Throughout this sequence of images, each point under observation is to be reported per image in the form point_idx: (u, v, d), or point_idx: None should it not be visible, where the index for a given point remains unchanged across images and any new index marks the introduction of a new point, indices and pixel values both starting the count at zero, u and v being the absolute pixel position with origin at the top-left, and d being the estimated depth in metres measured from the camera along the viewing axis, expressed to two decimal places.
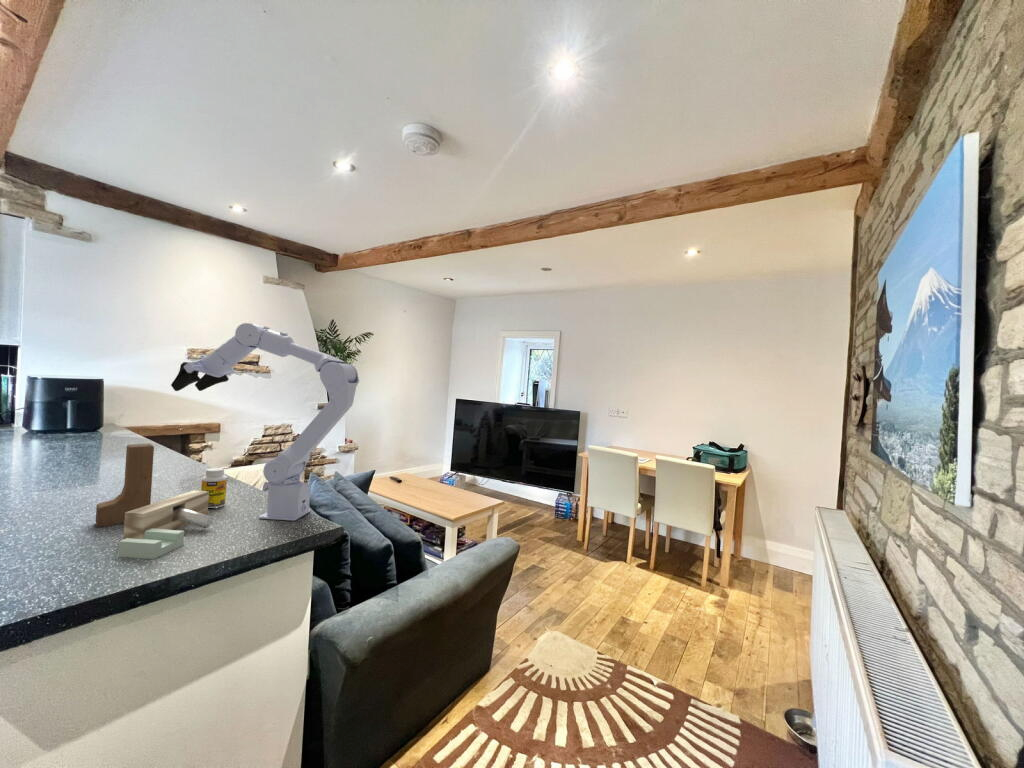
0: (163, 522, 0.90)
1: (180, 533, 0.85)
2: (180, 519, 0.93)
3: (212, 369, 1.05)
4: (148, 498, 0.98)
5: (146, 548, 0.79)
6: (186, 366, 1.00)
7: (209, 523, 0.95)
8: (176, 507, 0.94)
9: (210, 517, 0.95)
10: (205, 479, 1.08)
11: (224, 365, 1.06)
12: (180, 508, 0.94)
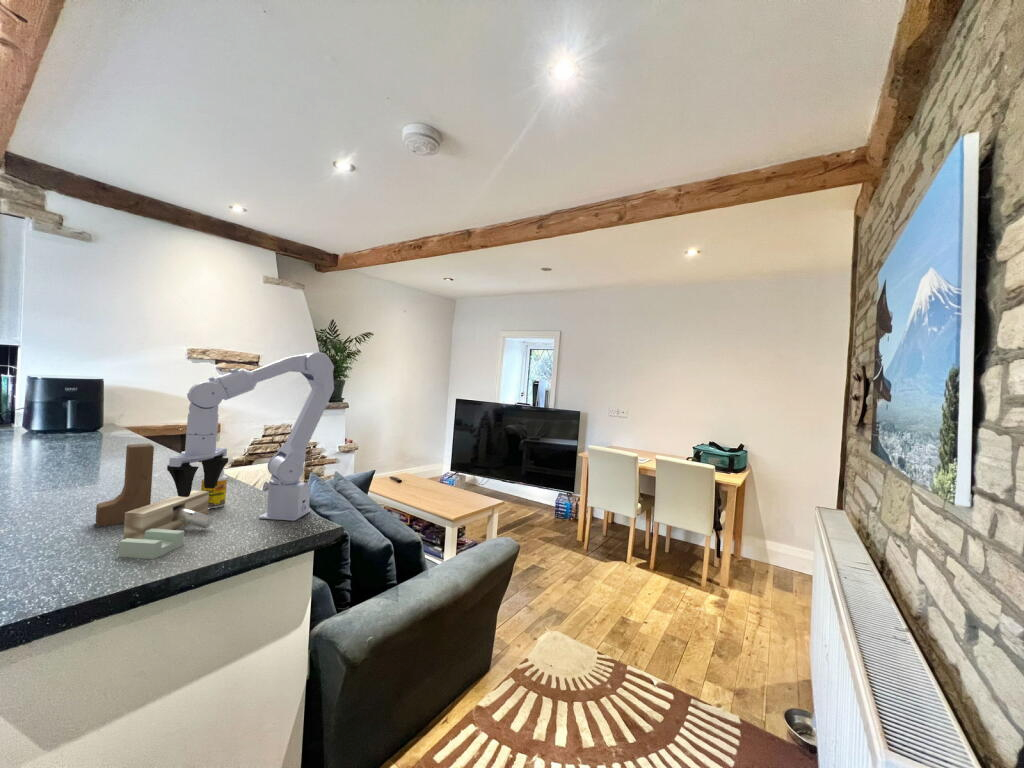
0: (163, 522, 0.90)
1: (180, 533, 0.85)
2: (180, 519, 0.93)
3: (199, 451, 0.92)
4: (148, 498, 0.98)
5: (146, 548, 0.79)
6: (171, 463, 0.87)
7: (209, 523, 0.95)
8: (176, 507, 0.94)
9: (210, 517, 0.95)
10: None
11: (206, 439, 0.93)
12: (180, 508, 0.94)
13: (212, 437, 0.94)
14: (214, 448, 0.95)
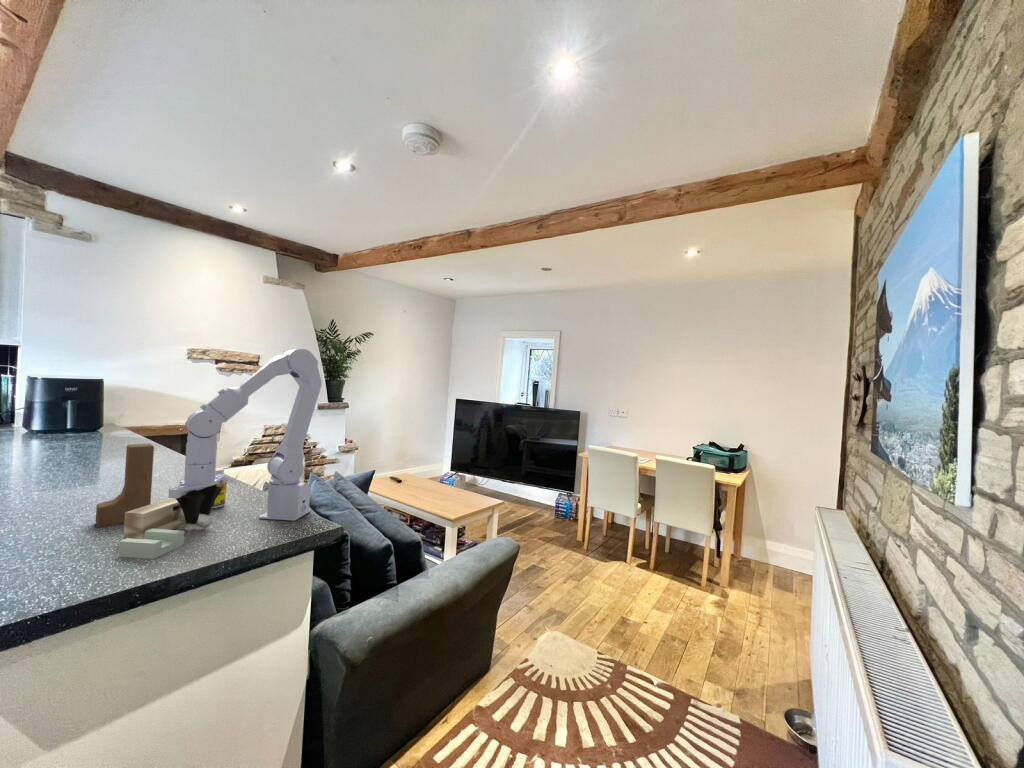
0: (163, 522, 0.90)
1: (180, 533, 0.85)
2: (180, 519, 0.93)
3: (199, 481, 0.92)
4: (148, 498, 0.98)
5: (146, 548, 0.79)
6: (170, 494, 0.87)
7: (209, 523, 0.95)
8: (176, 507, 0.94)
9: (210, 517, 0.95)
10: None
11: (205, 468, 0.93)
12: (180, 508, 0.94)
13: (211, 466, 0.94)
14: (213, 476, 0.95)
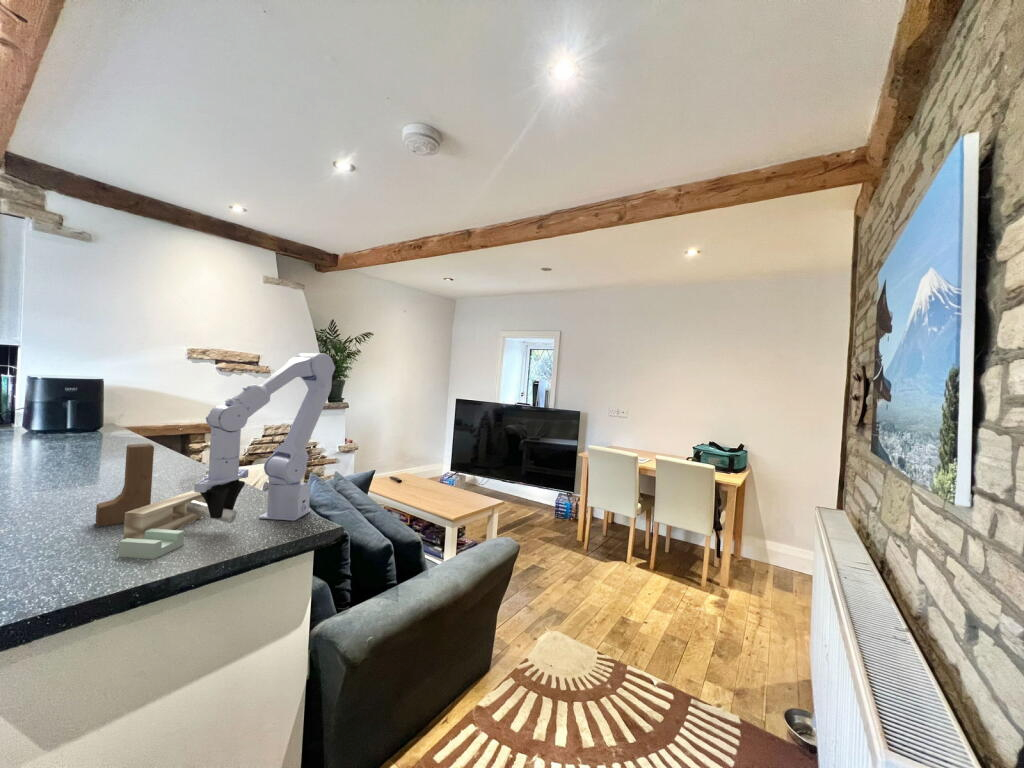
0: (163, 522, 0.90)
1: (180, 533, 0.85)
2: (204, 515, 0.93)
3: (223, 475, 0.92)
4: (148, 498, 0.98)
5: (146, 548, 0.79)
6: (196, 488, 0.87)
7: (233, 518, 0.95)
8: (199, 503, 0.94)
9: (234, 511, 0.94)
10: None
11: (229, 463, 0.93)
12: (203, 503, 0.94)
13: (235, 460, 0.94)
14: (237, 471, 0.95)
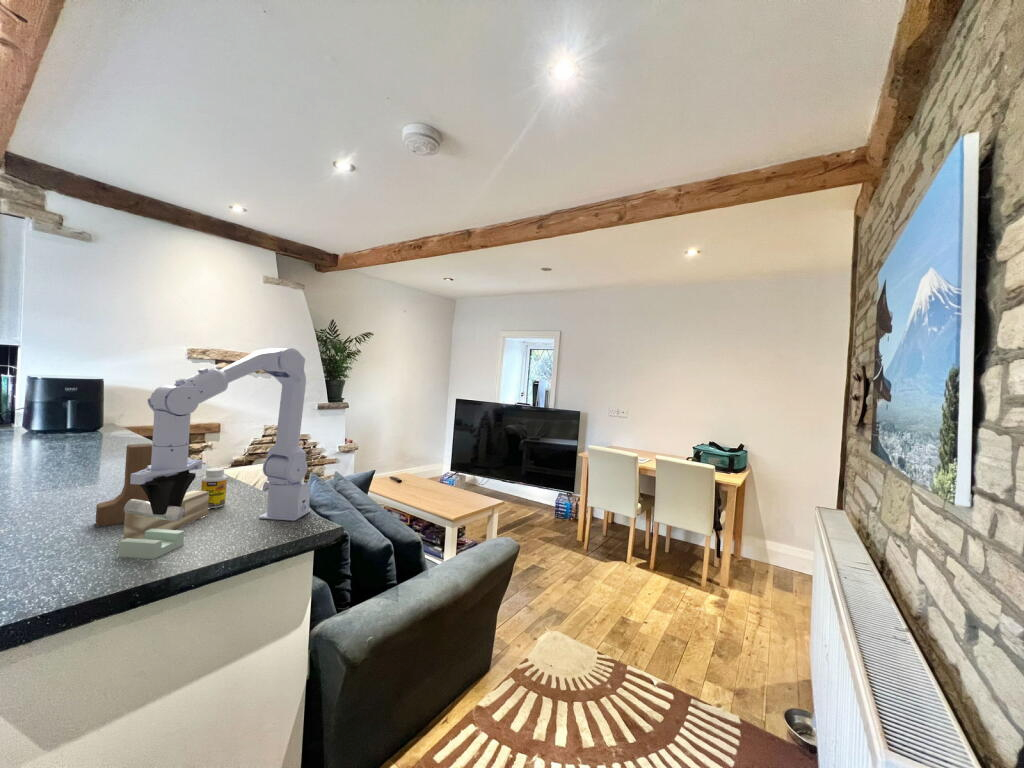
0: (163, 522, 0.90)
1: (180, 533, 0.85)
2: (145, 514, 0.81)
3: (167, 465, 0.80)
4: None
5: (146, 548, 0.79)
6: (132, 480, 0.75)
7: (179, 515, 0.83)
8: (139, 501, 0.82)
9: (179, 508, 0.82)
10: (205, 479, 1.08)
11: (175, 451, 0.81)
12: (143, 501, 0.82)
13: (182, 448, 0.82)
14: (185, 461, 0.83)
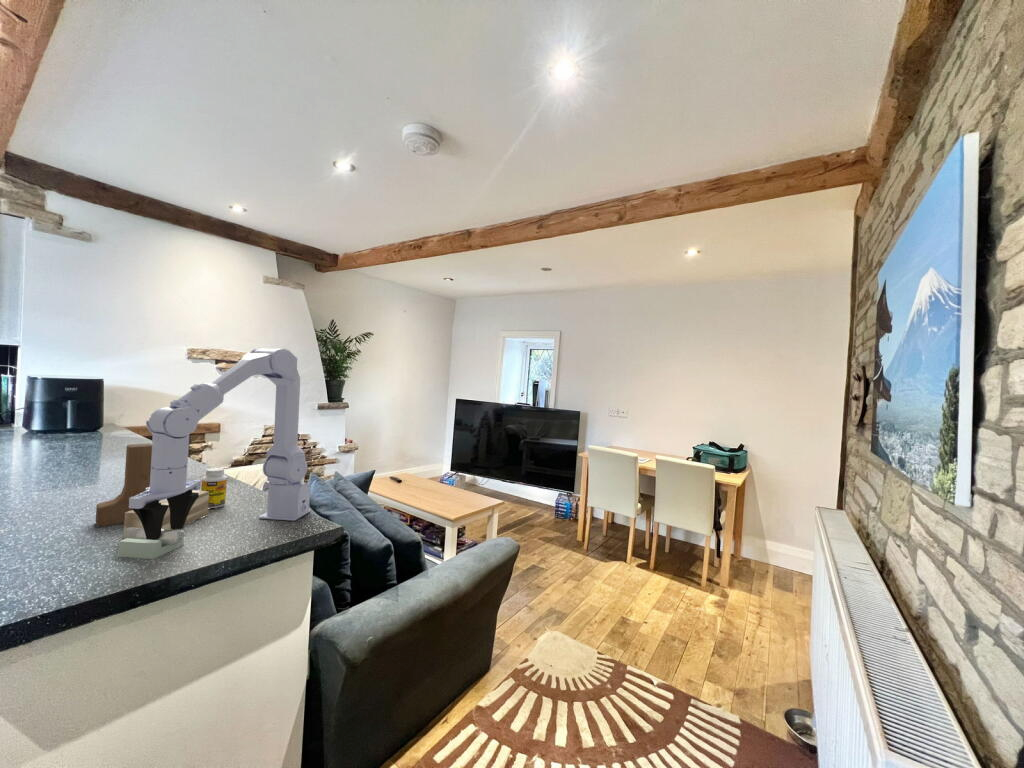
0: (163, 522, 0.90)
1: None
2: None
3: (166, 488, 0.80)
4: None
5: (146, 548, 0.79)
6: (131, 504, 0.75)
7: (178, 538, 0.83)
8: (137, 529, 0.82)
9: (177, 531, 0.83)
10: (205, 479, 1.08)
11: (173, 474, 0.81)
12: (141, 528, 0.82)
13: (181, 471, 0.82)
14: (184, 483, 0.83)
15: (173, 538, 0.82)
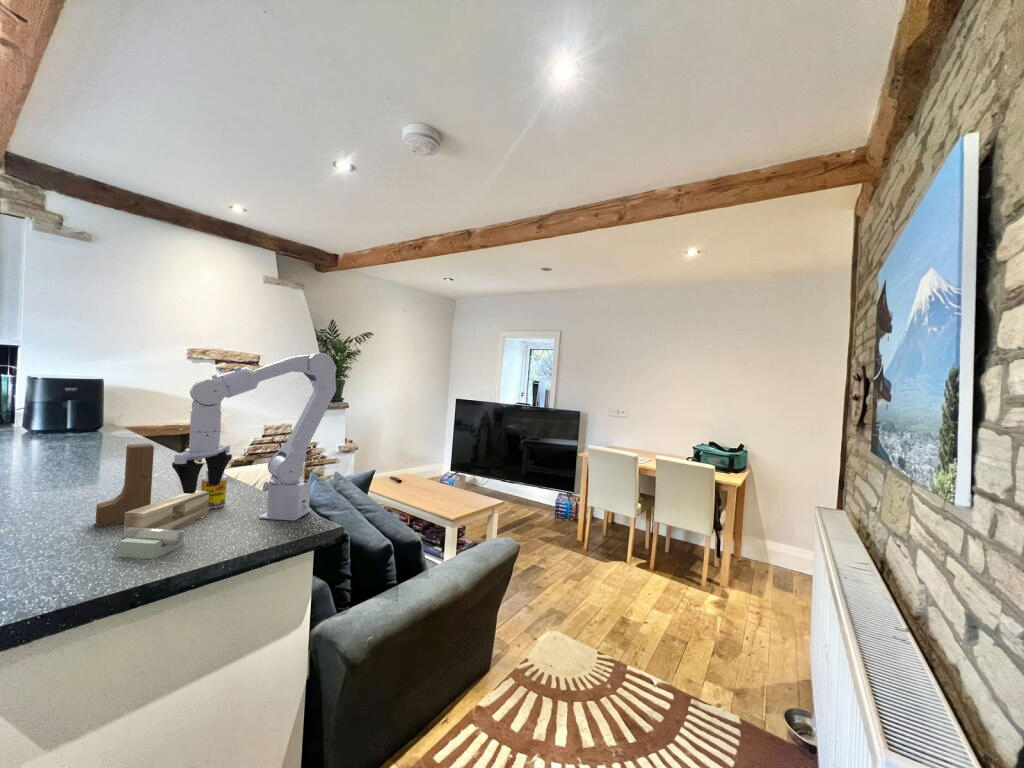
0: (163, 522, 0.90)
1: None
2: None
3: (204, 448, 0.93)
4: (148, 498, 0.98)
5: (146, 548, 0.79)
6: (176, 460, 0.88)
7: (178, 538, 0.83)
8: (137, 529, 0.82)
9: (177, 531, 0.83)
10: (205, 479, 1.08)
11: (210, 436, 0.93)
12: (141, 528, 0.82)
13: (216, 434, 0.95)
14: (218, 445, 0.96)
15: (173, 538, 0.82)
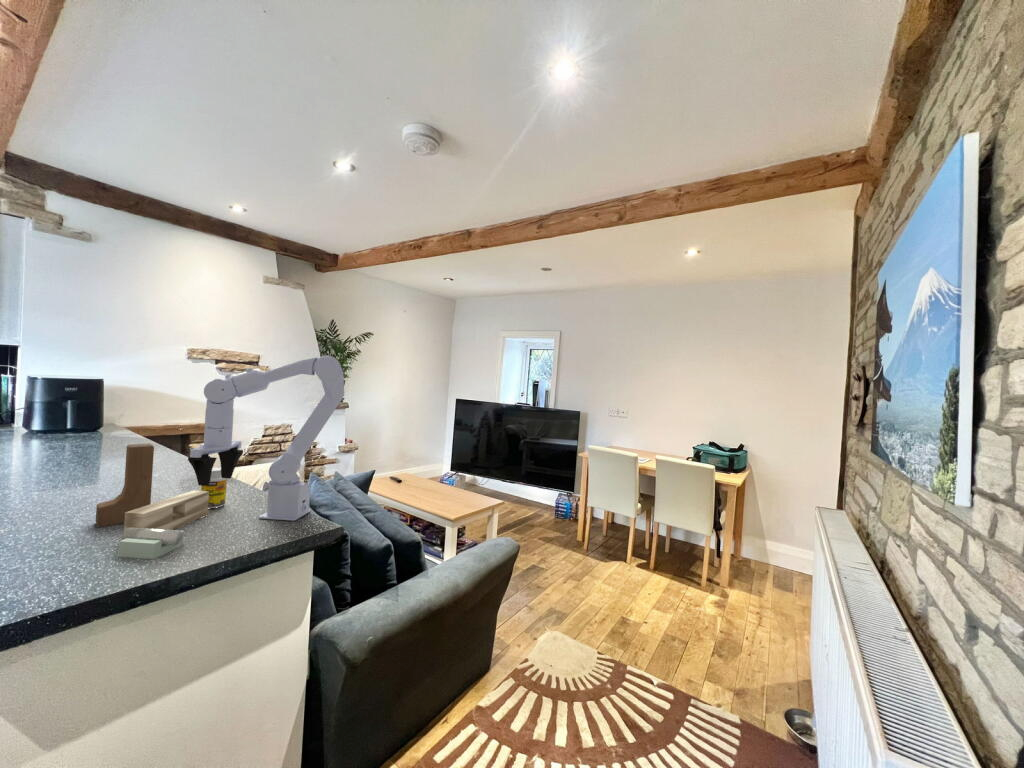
0: (163, 522, 0.90)
1: None
2: None
3: (217, 443, 0.99)
4: (148, 498, 0.98)
5: (146, 548, 0.79)
6: (192, 454, 0.94)
7: (178, 538, 0.83)
8: (136, 529, 0.82)
9: (177, 531, 0.82)
10: None
11: (223, 432, 1.00)
12: (141, 529, 0.82)
13: (228, 430, 1.01)
14: (230, 440, 1.02)
15: (173, 538, 0.81)
